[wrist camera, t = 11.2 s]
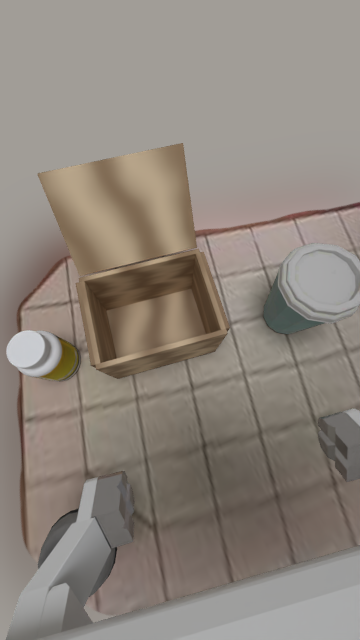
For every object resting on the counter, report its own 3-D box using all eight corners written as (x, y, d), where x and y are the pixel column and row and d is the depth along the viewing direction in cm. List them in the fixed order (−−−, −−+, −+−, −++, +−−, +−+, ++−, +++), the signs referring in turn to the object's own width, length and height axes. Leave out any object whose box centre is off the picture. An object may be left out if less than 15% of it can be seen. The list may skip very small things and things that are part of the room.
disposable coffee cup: (241, 329, 46) (270, 295, 32) (263, 275, 49) (299, 222, 35) (303, 356, 45) (362, 333, 31) (321, 299, 48) (383, 254, 33)
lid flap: (196, 247, 37) (195, 245, 37) (183, 143, 30) (181, 143, 31) (79, 276, 35) (80, 273, 36) (37, 173, 29) (38, 173, 29)
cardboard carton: (196, 285, 48) (202, 247, 37) (217, 350, 45) (231, 332, 34) (100, 309, 47) (74, 279, 35) (114, 379, 44) (92, 370, 32)
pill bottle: (82, 342, 45) (53, 322, 35) (80, 380, 43) (49, 372, 33) (44, 343, 45) (3, 325, 35) (40, 382, 43) (-4, 375, 33)
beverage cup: (124, 547, 37) (67, 700, 18) (73, 530, 38) (-35, 661, 19) (141, 488, 39) (106, 568, 20) (92, 473, 40) (13, 536, 21)
